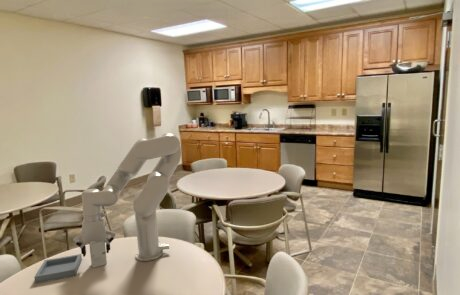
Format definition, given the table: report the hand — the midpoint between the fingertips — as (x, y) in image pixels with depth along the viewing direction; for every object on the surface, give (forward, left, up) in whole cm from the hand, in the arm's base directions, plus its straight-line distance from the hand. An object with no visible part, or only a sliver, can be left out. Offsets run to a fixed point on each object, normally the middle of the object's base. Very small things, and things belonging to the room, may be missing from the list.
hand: (96, 253), depth 135 cm
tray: (+15, 0, -5) cm, 16 cm away
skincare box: (-1, 0, -5) cm, 5 cm away
